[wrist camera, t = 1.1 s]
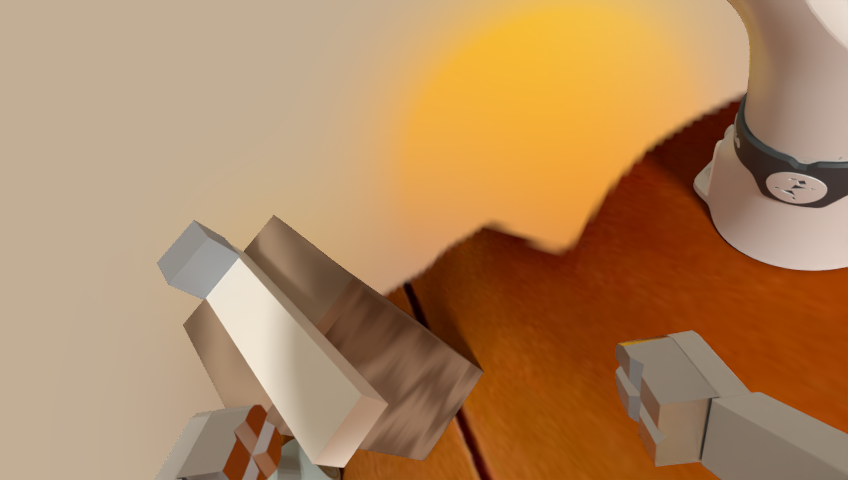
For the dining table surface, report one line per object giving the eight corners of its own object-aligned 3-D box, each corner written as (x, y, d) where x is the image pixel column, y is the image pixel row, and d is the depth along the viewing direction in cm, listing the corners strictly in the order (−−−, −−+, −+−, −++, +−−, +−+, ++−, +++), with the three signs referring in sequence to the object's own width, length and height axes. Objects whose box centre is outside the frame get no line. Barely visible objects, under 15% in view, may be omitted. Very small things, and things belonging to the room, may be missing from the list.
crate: (410, 313, 57) (273, 214, 38) (485, 369, 48) (353, 277, 28) (356, 388, 55) (183, 325, 36) (422, 463, 46) (236, 430, 27)
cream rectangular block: (247, 251, 37) (194, 219, 33) (390, 401, 22) (326, 377, 18) (215, 290, 36) (156, 263, 32) (341, 470, 22) (263, 462, 18)
